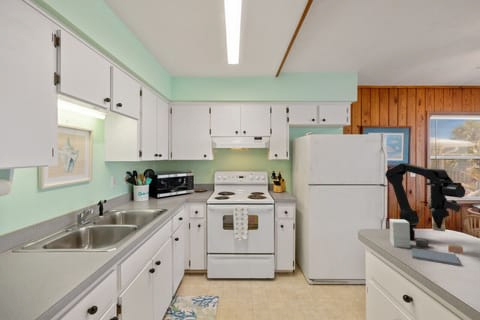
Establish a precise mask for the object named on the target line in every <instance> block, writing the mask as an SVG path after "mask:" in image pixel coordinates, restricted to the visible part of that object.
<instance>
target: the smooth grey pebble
mask: <svg viewBox="0 0 480 320" xmlns="http://www.w3.org/2000/svg"><path fill="white" fill-rule="evenodd" d="M415 246H416V247H417V248H418V247H419V248H422V249H428V248H429V240H427V239H423V238H415Z"/></svg>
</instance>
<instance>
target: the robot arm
mask: <svg viewBox="0 0 480 320" xmlns="http://www.w3.org/2000/svg"><path fill="white" fill-rule="evenodd" d="M407 172H409V173H412V174H415V175H418V176H422V177H424V179H426V180H428V182H426V183H425V186H429V187H430V188H429V190H430V195H429V199H430V203H429V204H428V209H429V212H430V214H431V218H432V217H433V219H434V221H435V223H436V225H437V228H441V225H442V222H443V219H444V218H445V219H446V218H447V217H450V211H449V210H448V209H450V210H452V211H455V212H457V213H460V211H461V210H462V205H461V204H459V203H457V201H456V200H454V199H452V200H448V199H447V198H446V197H450V198H459V199H463V198H464V197H465V195H466V189H465V187H464V186H463V185H462V182H460V181H459V182H454V181H453V179H451V177H450V176H449V175H448V172H447V171H446V170H445V169H443V168H427V167H423V166H419V165H414V164H411V163H408V162H402V163H399V164H397V165H395V166H394V167H391V168H390V169H387V170H386V171H385V173H384V176H385V178H386V180H387V182H388V183H390V185H392V188H393V192H394V195H395V197H396V200H397V203H398V206H399V209H400V211H399V214H398V216H399V219H403V220H406V221H407V222H409V225H410V241H415V240H416V235H415V234H416V233H415V231H416V230H415V229H414V228H417V225H418V224H419V222H420V217H419V215H418V211H417V210H413V209H412V208H411V205H410V201H409V199H408V197H407V193H406V191H405V188H404V185H403V181H404V175H406V174H407ZM414 239H415V240H414Z"/></svg>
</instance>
